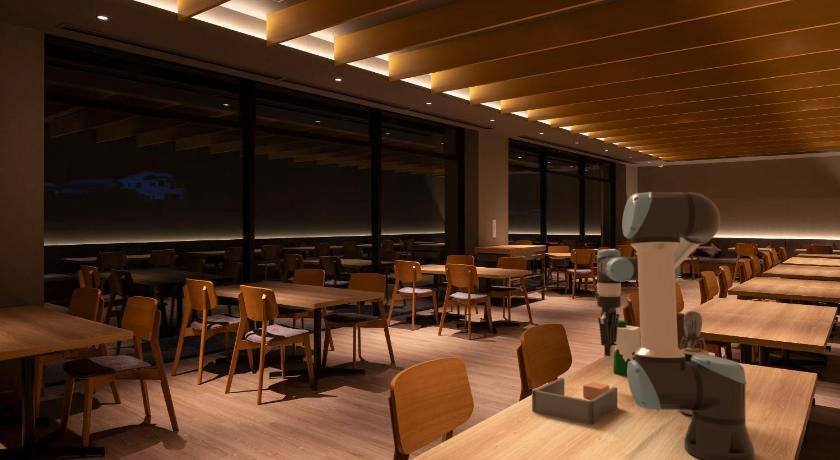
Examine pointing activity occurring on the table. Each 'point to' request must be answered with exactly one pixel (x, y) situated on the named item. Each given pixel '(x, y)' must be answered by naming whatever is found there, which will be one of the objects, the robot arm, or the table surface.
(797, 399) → the table surface
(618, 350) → the milk carton
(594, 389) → the tile block
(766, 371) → the table surface
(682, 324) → the beer bottle
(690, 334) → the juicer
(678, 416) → the table surface
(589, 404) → the bin
